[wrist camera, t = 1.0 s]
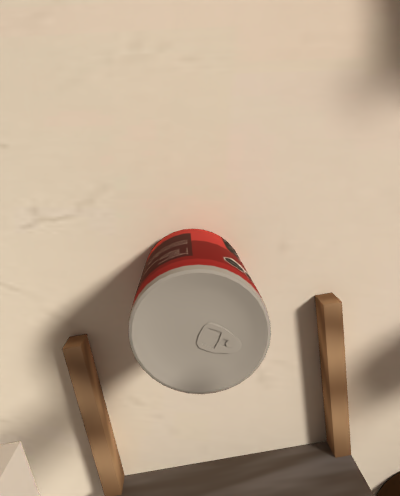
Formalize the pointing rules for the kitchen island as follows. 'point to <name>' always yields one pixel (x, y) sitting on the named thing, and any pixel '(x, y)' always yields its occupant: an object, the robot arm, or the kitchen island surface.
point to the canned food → (198, 315)
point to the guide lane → (242, 467)
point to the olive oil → (391, 487)
